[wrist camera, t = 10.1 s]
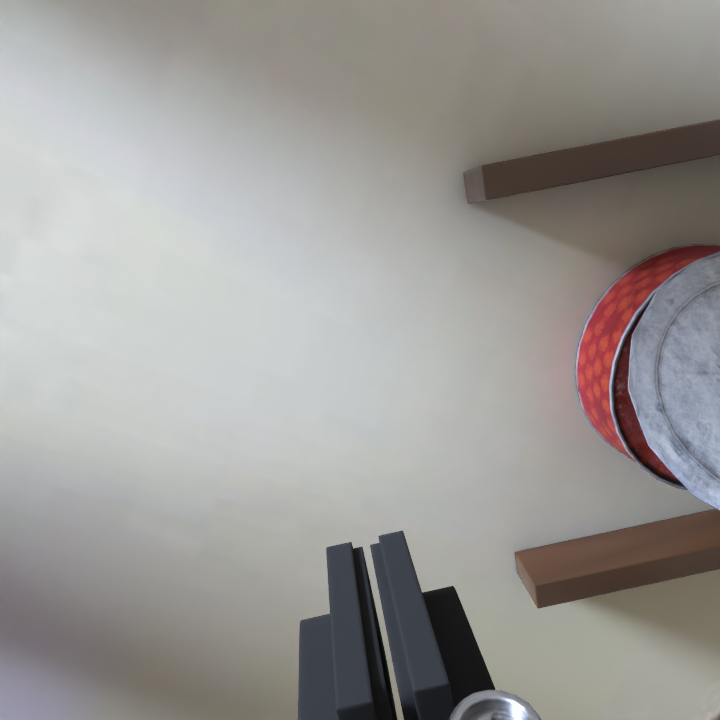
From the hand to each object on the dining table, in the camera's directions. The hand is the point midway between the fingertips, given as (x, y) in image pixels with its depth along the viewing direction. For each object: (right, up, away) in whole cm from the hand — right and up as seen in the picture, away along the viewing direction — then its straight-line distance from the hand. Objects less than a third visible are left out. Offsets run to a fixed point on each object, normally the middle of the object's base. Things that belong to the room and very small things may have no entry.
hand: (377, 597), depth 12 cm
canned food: (+14, +5, +13) cm, 19 cm away
